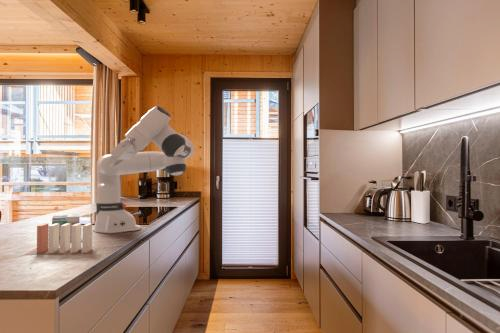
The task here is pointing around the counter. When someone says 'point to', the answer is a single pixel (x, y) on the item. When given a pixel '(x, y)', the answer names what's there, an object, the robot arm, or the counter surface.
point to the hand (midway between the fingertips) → (111, 165)
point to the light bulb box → (66, 221)
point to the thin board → (34, 252)
